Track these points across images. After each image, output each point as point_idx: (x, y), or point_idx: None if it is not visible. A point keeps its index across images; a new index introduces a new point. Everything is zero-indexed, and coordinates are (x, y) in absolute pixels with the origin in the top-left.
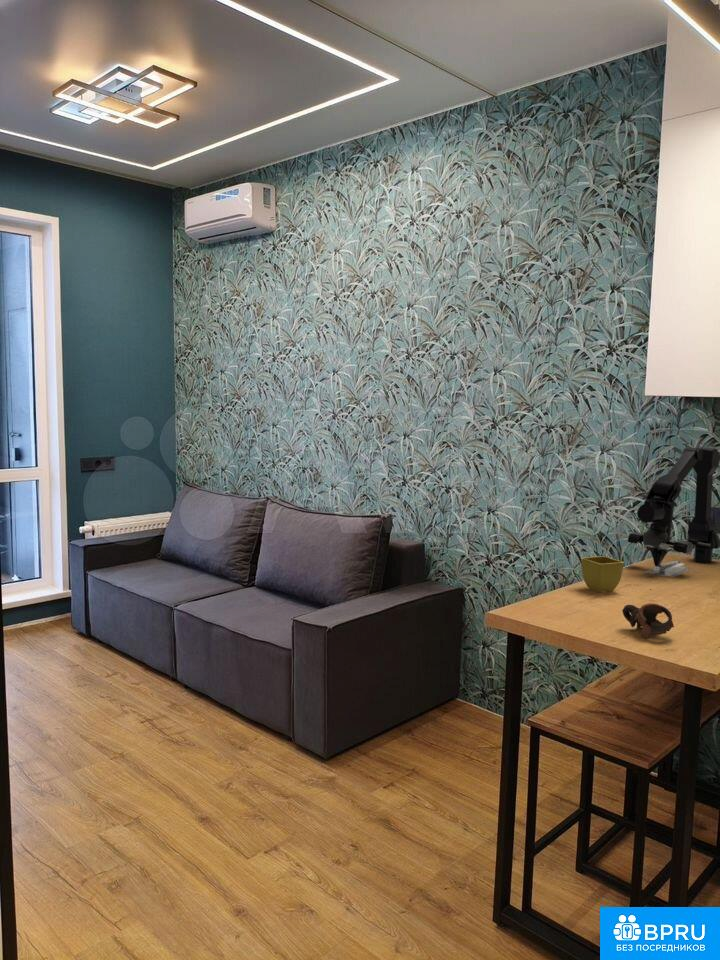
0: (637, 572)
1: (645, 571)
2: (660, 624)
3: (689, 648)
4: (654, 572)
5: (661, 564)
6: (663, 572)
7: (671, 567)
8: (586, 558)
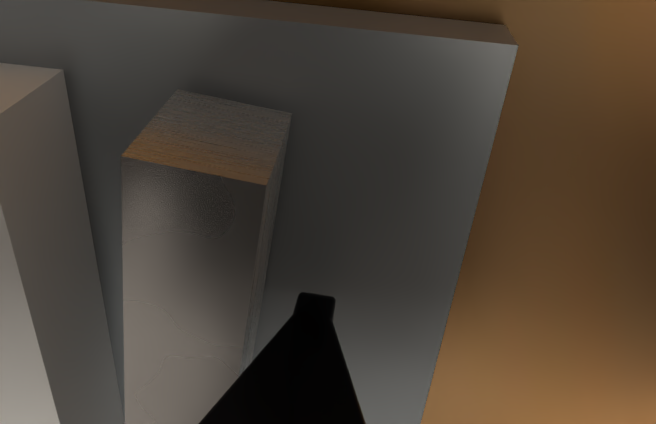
0: (645, 172)
1: (489, 121)
2: None
3: None
4: (311, 167)
5: None
6: None
7: (1, 348)
8: None
